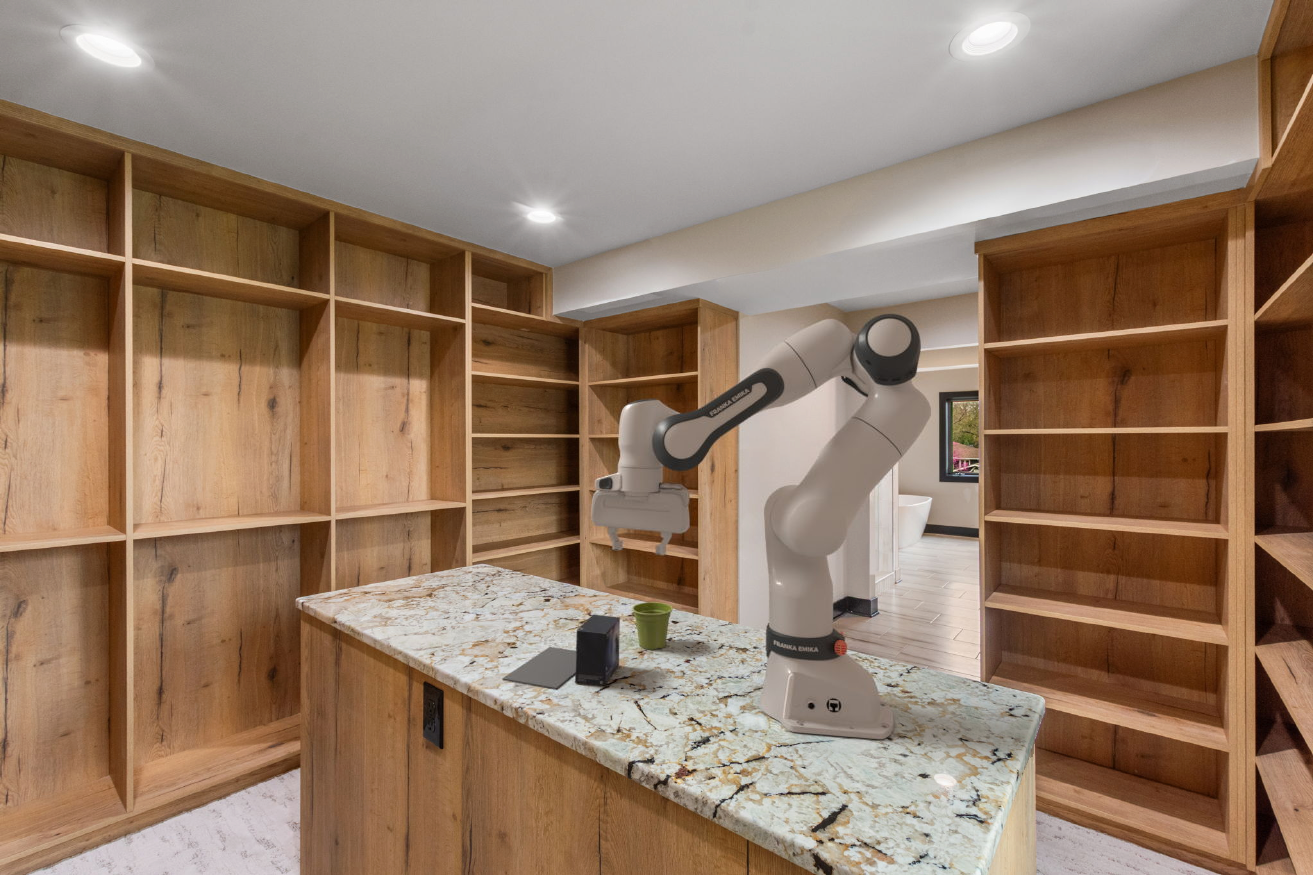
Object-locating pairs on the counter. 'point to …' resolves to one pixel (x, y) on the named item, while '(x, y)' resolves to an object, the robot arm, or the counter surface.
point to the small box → (597, 650)
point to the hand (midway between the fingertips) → (638, 552)
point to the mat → (546, 669)
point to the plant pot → (652, 623)
